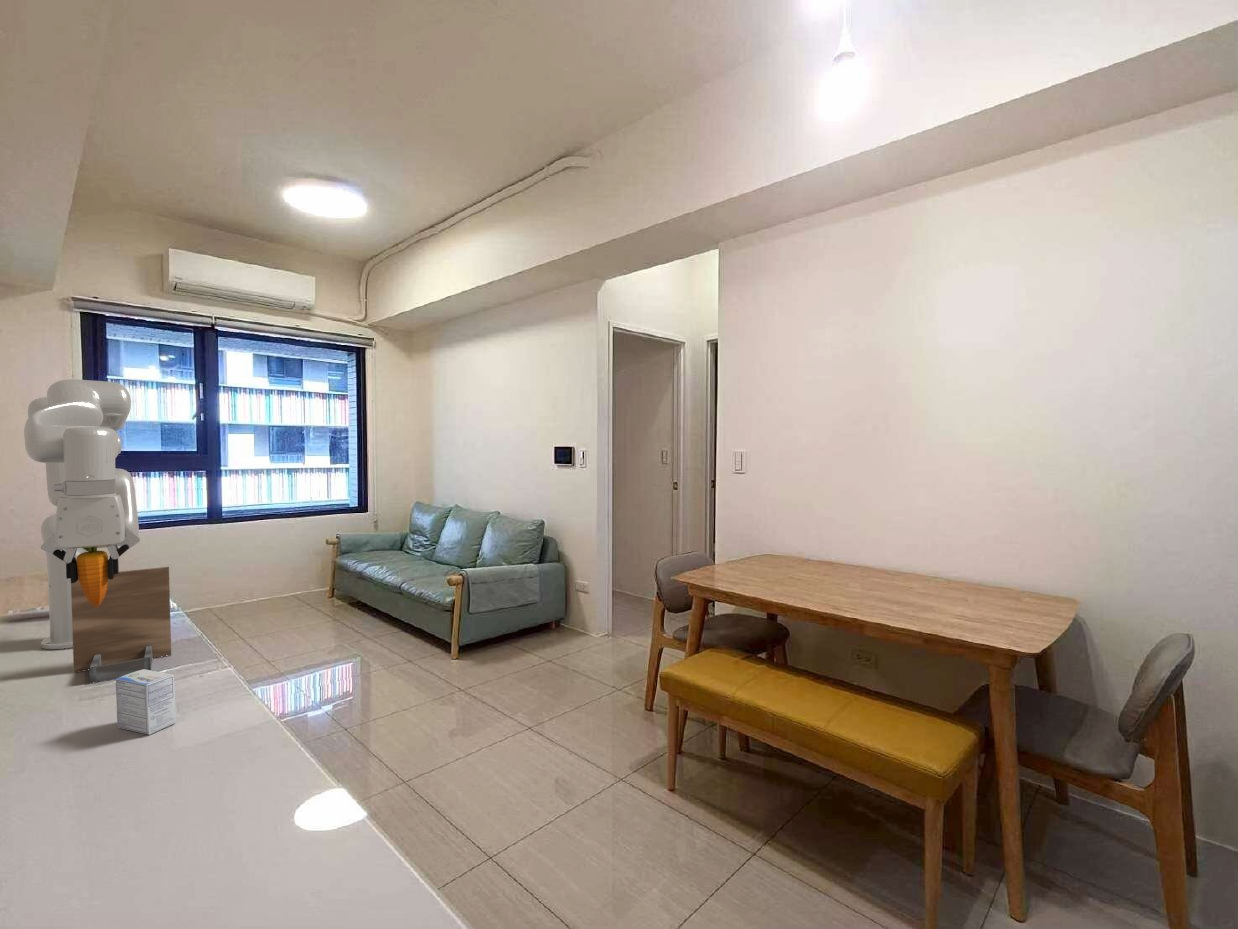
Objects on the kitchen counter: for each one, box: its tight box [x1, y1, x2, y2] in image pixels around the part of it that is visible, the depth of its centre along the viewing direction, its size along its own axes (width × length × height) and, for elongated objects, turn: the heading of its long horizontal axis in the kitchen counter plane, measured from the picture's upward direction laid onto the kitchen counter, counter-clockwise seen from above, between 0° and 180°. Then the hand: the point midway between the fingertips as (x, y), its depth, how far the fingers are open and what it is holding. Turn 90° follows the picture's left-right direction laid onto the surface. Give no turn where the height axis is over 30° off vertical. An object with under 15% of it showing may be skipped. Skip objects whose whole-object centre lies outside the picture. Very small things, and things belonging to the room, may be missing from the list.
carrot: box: [76, 547, 109, 607], centre depth 114 cm, size 5×5×15 cm
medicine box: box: [115, 669, 177, 735], centre depth 96 cm, size 8×4×9 cm, turn 71°
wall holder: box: [71, 566, 172, 684], centre depth 121 cm, size 11×16×20 cm
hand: (93, 578), depth 114 cm, fingers closed on carrot, 4 cm apart
